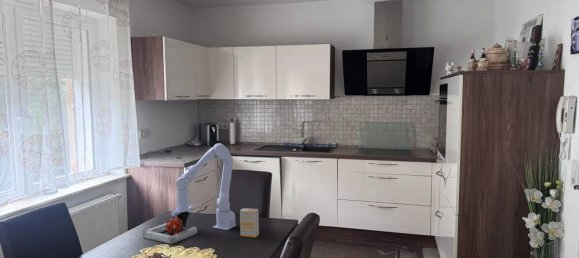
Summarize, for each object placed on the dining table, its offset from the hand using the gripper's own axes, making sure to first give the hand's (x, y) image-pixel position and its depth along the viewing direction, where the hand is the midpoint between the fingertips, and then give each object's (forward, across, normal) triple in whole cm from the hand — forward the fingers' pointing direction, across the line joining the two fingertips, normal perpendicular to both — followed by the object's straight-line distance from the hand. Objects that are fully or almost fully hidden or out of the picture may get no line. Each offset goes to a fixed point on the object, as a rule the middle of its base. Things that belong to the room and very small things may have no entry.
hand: (183, 226), depth 198 cm
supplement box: (+2, -9, +35) cm, 36 cm away
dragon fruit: (+2, +6, 0) cm, 7 cm away
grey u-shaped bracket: (+2, +8, 0) cm, 8 cm away
